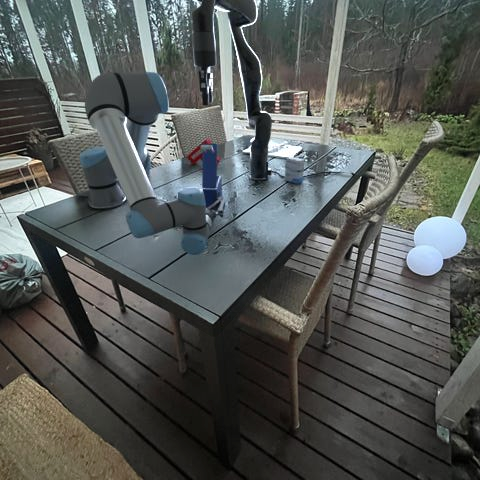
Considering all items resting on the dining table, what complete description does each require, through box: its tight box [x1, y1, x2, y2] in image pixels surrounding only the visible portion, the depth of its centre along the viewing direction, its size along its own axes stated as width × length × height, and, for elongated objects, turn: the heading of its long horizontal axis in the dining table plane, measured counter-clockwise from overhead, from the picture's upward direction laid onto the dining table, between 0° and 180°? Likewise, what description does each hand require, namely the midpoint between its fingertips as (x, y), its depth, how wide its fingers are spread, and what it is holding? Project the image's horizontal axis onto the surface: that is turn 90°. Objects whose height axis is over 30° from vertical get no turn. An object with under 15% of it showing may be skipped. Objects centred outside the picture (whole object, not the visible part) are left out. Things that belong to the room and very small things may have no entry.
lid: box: [201, 142, 218, 189], centre depth 103 cm, size 17×6×9 cm
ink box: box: [284, 156, 306, 185], centre depth 140 cm, size 8×5×12 cm, turn 47°
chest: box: [202, 174, 223, 212], centre depth 117 cm, size 16×6×11 cm, turn 177°
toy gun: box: [186, 138, 221, 165], centre depth 167 cm, size 18×4×15 cm
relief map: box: [242, 138, 304, 160], centre depth 192 cm, size 27×35×5 cm
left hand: (211, 195), depth 113 cm, fingers closed on chest, 6 cm apart
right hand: (207, 103), depth 99 cm, fingers open, 8 cm apart
